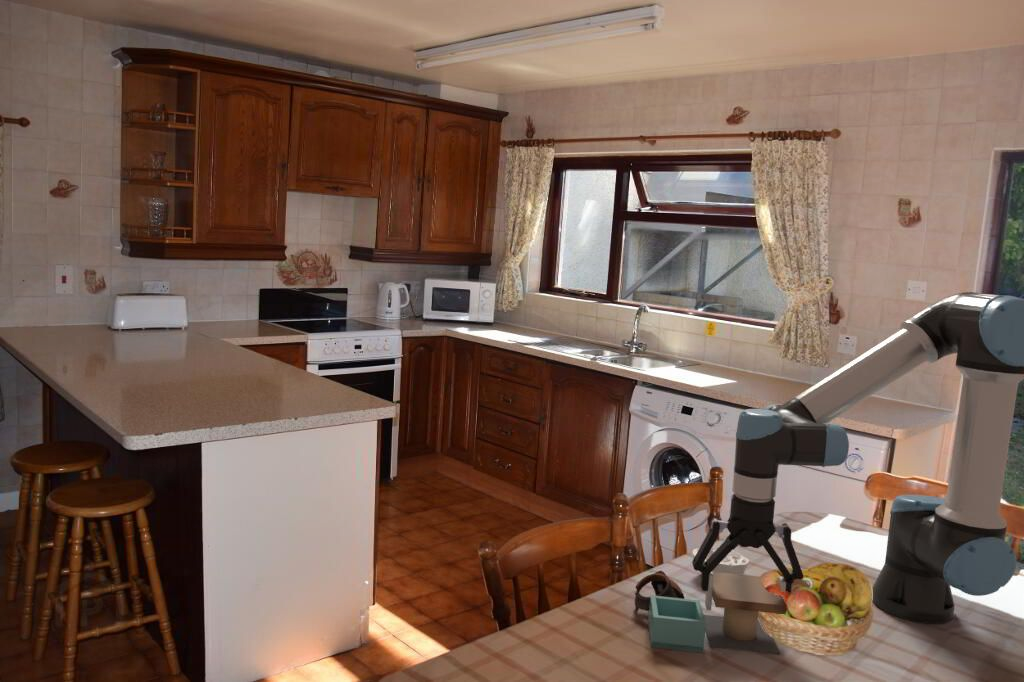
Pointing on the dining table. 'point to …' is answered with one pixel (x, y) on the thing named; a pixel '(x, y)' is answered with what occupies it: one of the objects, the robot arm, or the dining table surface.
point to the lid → (745, 594)
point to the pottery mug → (656, 589)
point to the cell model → (728, 562)
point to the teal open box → (676, 624)
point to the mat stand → (739, 632)
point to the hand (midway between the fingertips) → (743, 610)
